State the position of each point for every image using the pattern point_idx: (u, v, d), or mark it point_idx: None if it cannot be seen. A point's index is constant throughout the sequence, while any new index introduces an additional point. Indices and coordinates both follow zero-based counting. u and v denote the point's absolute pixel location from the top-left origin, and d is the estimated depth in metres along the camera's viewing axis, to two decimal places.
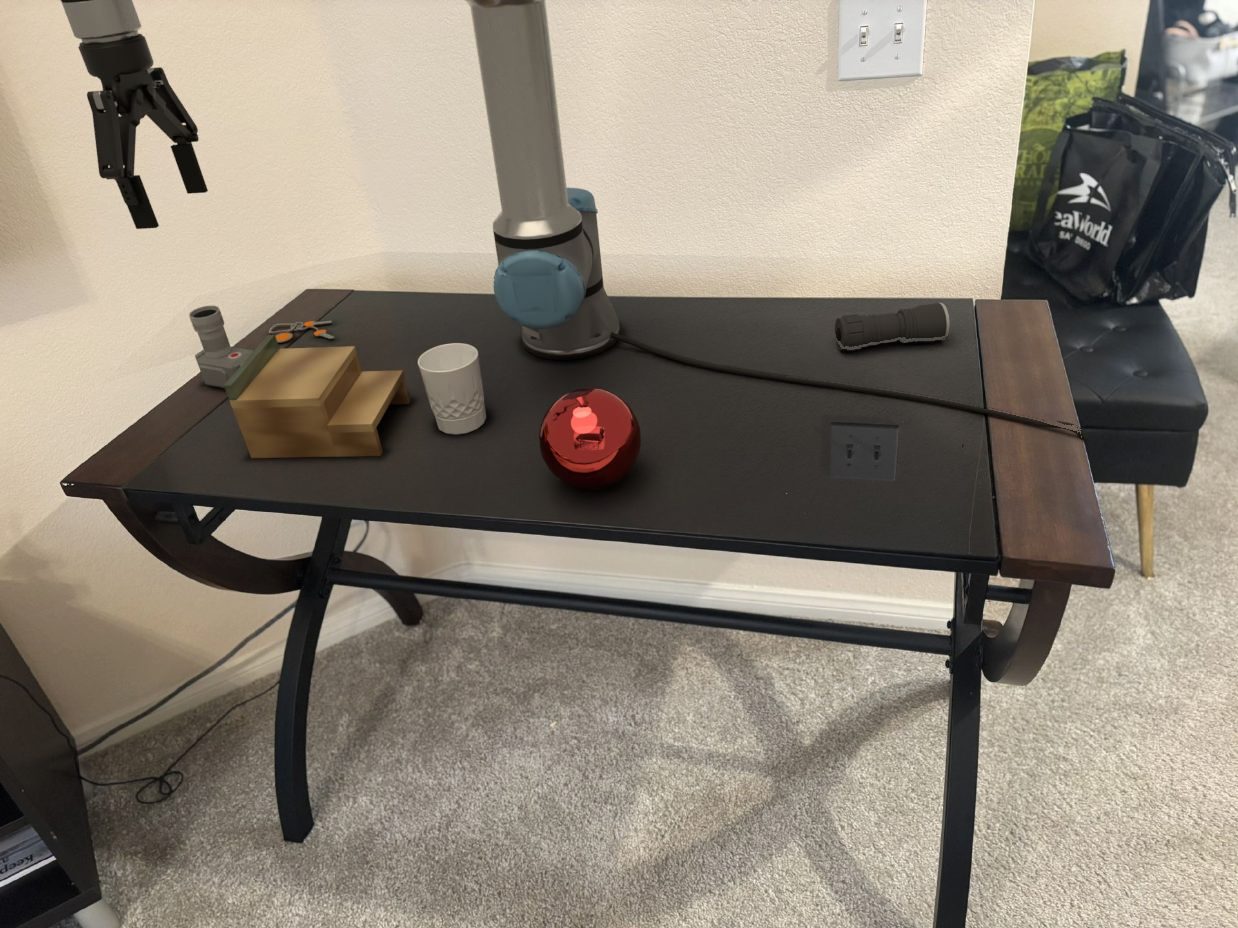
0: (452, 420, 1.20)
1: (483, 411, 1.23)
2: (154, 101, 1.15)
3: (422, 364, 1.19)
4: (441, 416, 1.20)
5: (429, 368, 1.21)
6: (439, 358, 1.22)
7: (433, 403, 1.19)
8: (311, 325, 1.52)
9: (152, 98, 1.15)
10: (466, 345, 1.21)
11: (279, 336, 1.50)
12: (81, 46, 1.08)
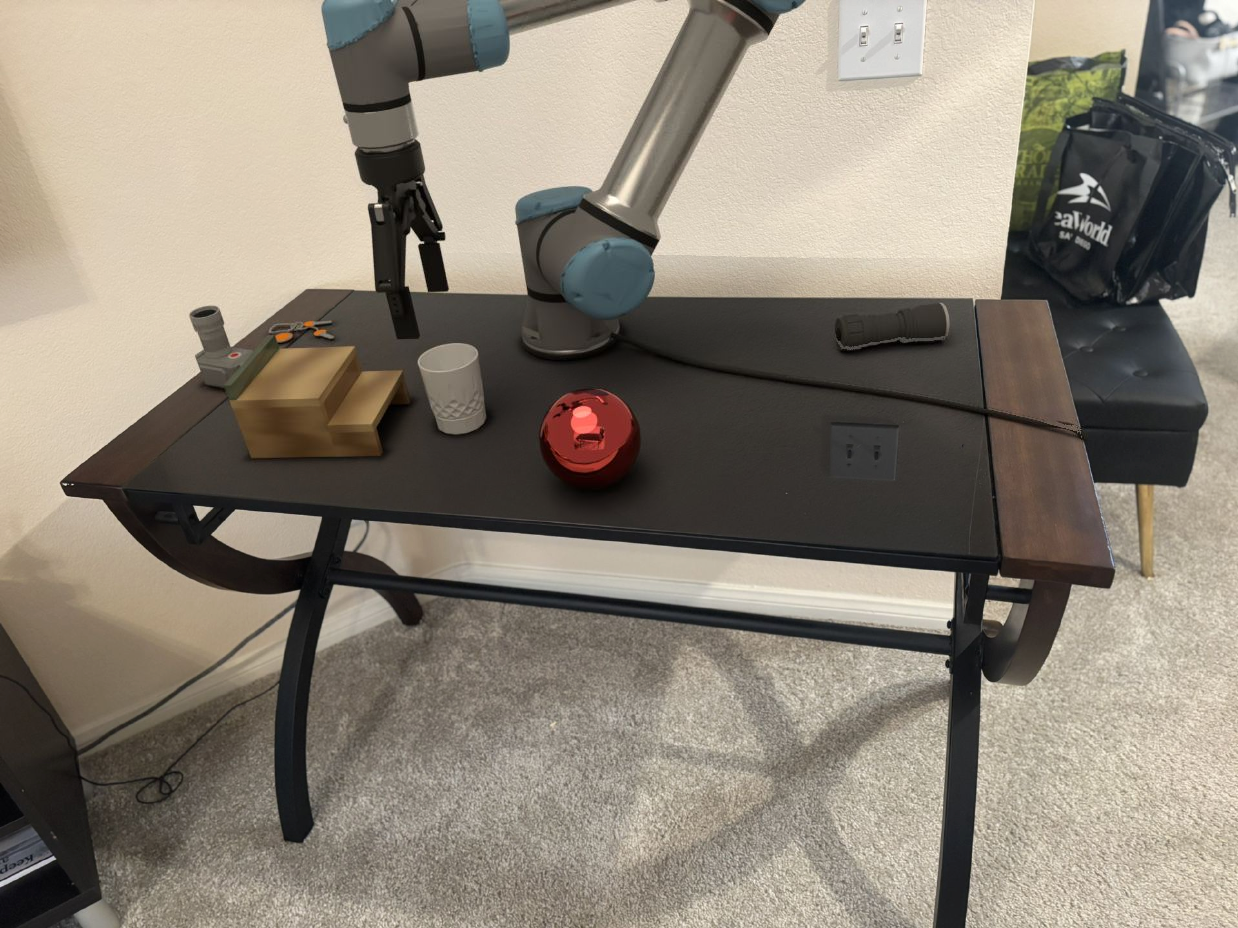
0: (452, 420, 1.20)
1: (483, 411, 1.23)
2: (418, 205, 1.09)
3: (422, 364, 1.19)
4: (441, 416, 1.20)
5: (429, 368, 1.21)
6: (439, 358, 1.22)
7: (433, 403, 1.19)
8: (311, 325, 1.52)
9: (417, 203, 1.09)
10: (466, 345, 1.21)
11: (279, 336, 1.50)
12: (360, 155, 1.02)
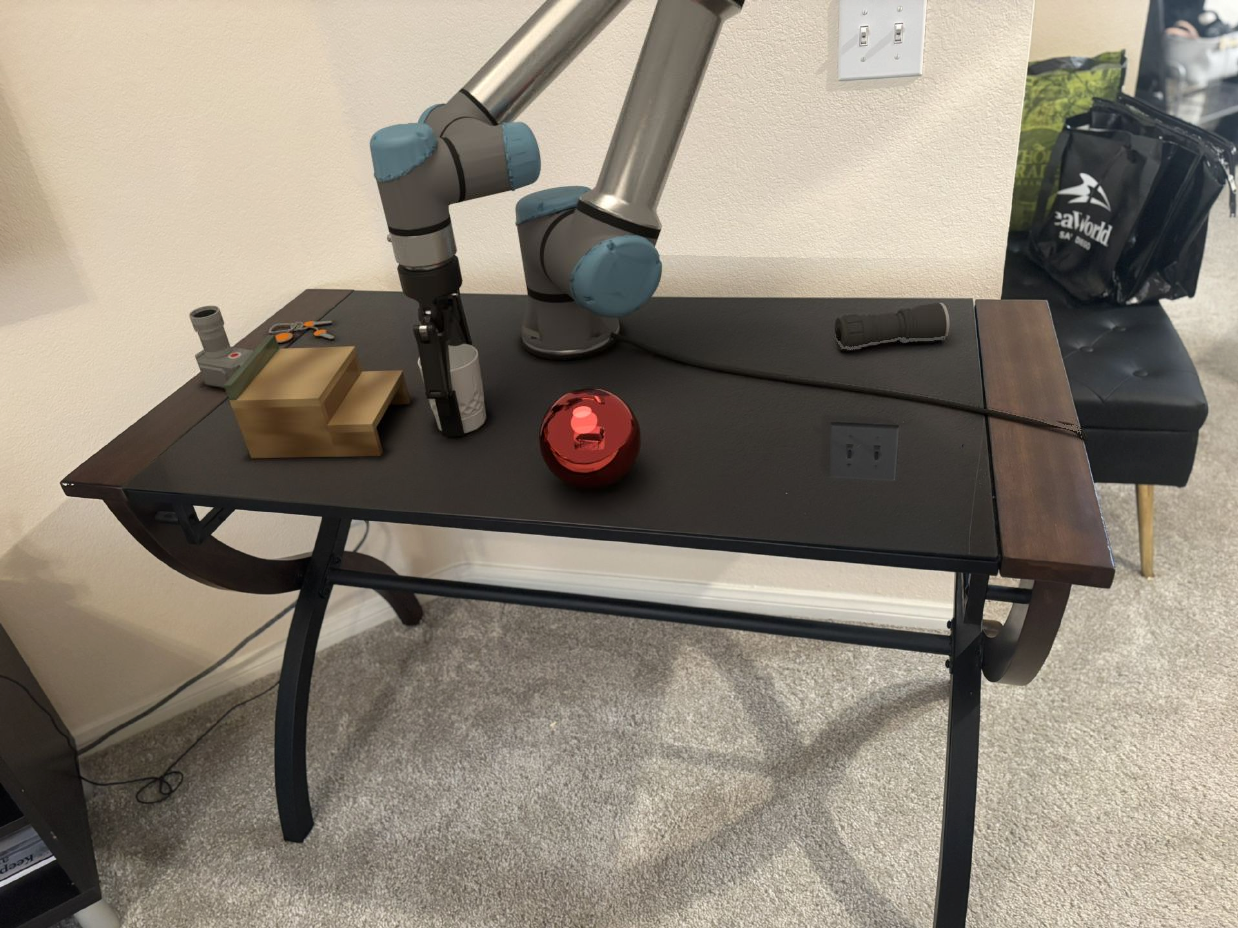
0: None
1: (483, 411, 1.23)
2: (454, 314, 1.16)
3: None
4: None
5: None
6: None
7: (433, 403, 1.19)
8: (311, 325, 1.52)
9: None
10: (466, 345, 1.21)
11: (279, 336, 1.50)
12: (403, 272, 1.09)
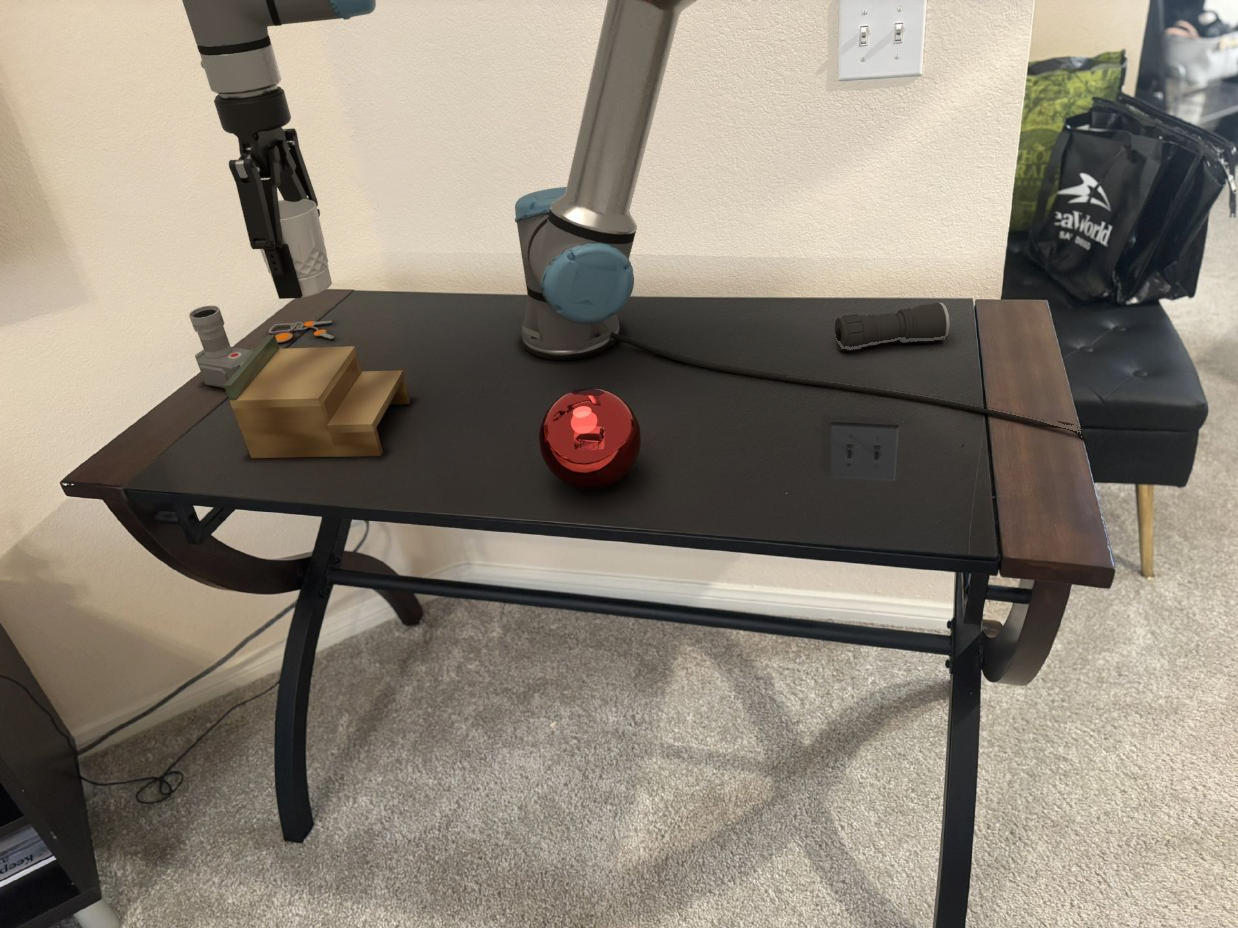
0: None
1: (326, 275, 1.12)
2: (286, 159, 1.06)
3: None
4: None
5: None
6: None
7: (267, 261, 1.09)
8: (311, 325, 1.52)
9: None
10: (306, 200, 1.10)
11: (279, 336, 1.50)
12: (218, 101, 0.98)
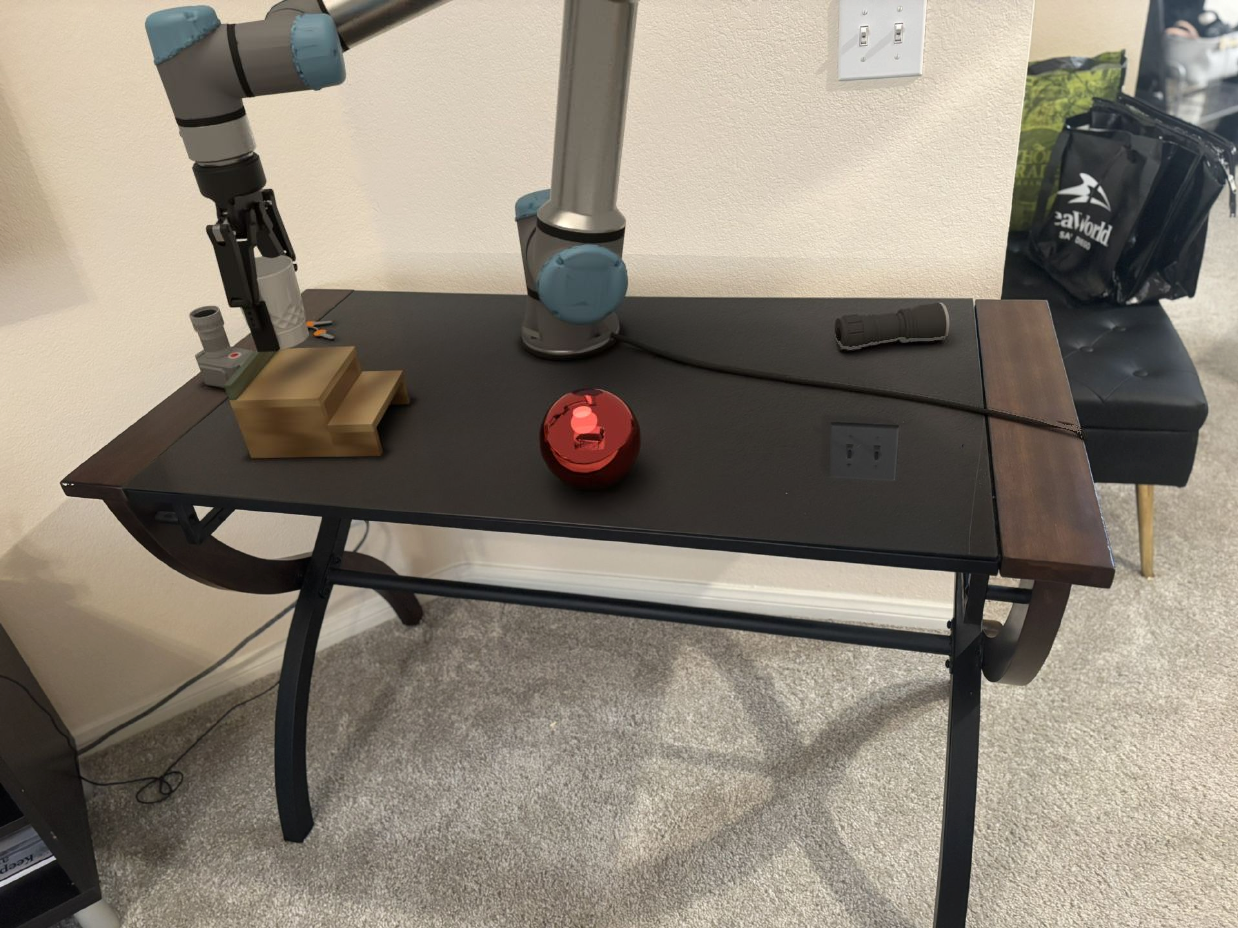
0: None
1: (303, 327, 1.16)
2: (262, 220, 1.10)
3: None
4: None
5: None
6: (256, 271, 1.16)
7: None
8: (311, 325, 1.52)
9: (262, 215, 1.10)
10: (283, 256, 1.15)
11: None
12: (196, 169, 1.03)
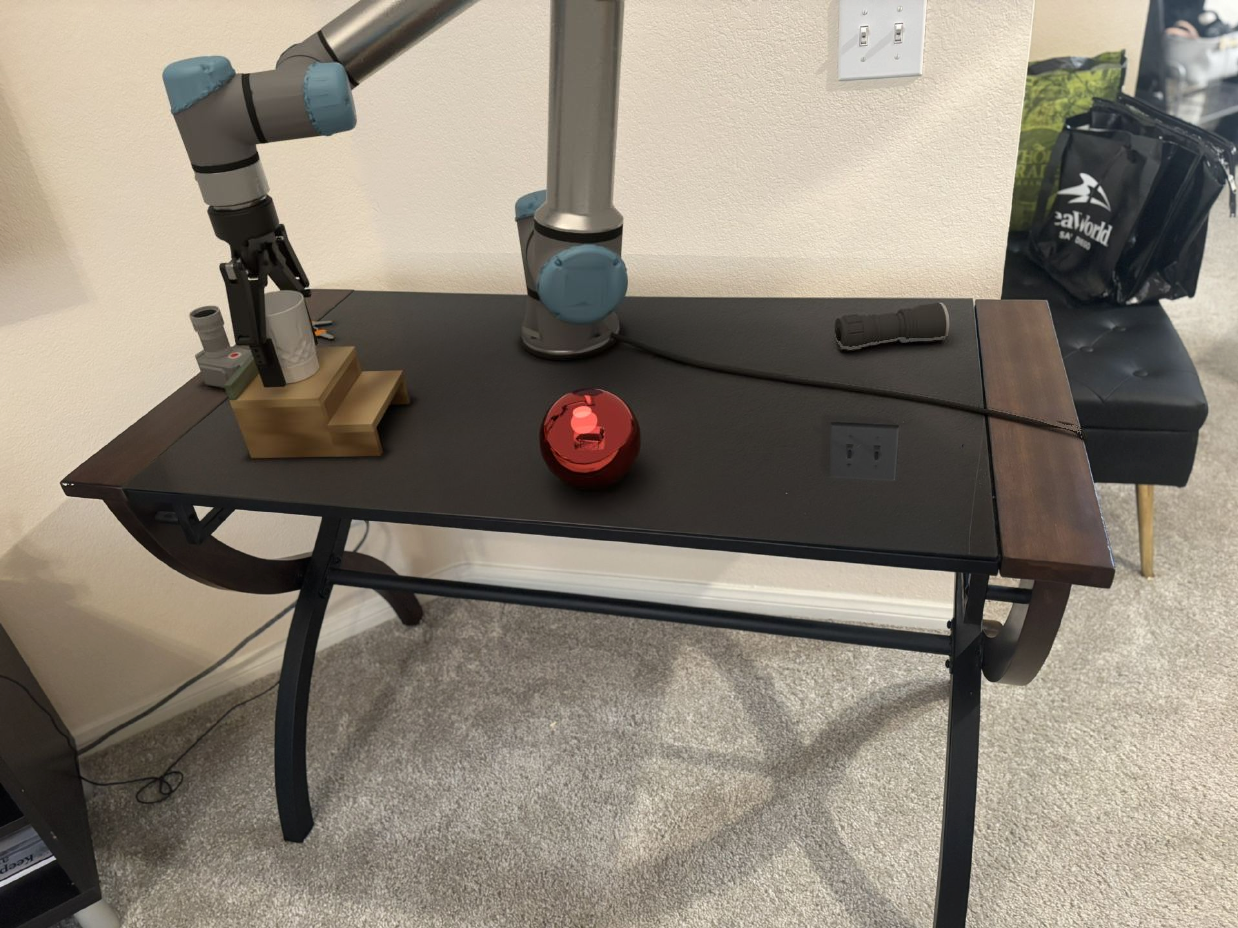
0: None
1: (314, 360, 1.19)
2: (276, 258, 1.13)
3: None
4: None
5: None
6: (267, 306, 1.18)
7: None
8: None
9: None
10: (294, 292, 1.17)
11: None
12: (211, 212, 1.06)
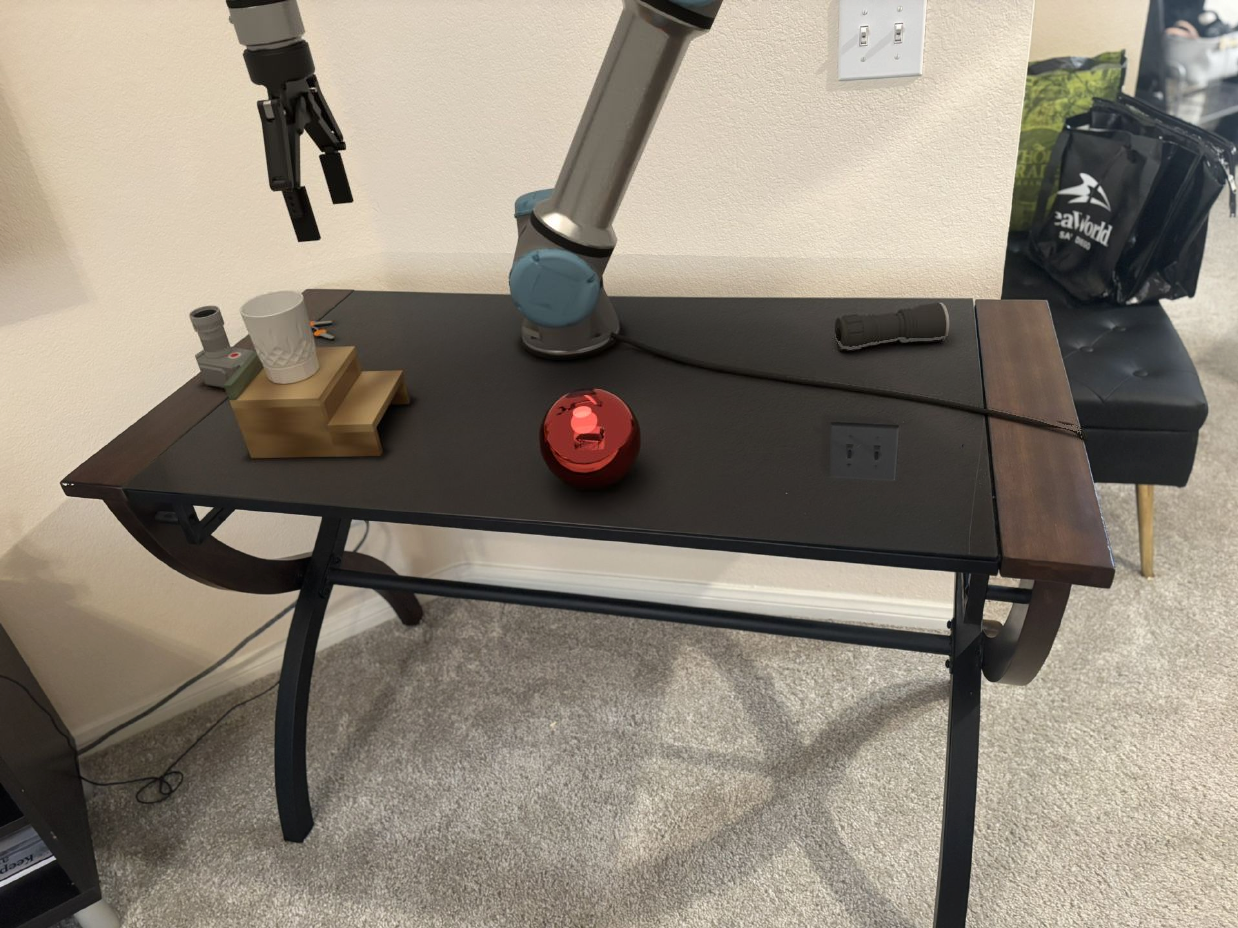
0: (279, 368, 1.17)
1: (314, 360, 1.19)
2: (312, 109, 1.11)
3: (246, 311, 1.16)
4: (267, 365, 1.17)
5: (256, 316, 1.18)
6: (267, 306, 1.18)
7: (258, 351, 1.16)
8: (311, 325, 1.52)
9: (311, 106, 1.10)
10: (294, 292, 1.17)
11: None
12: (247, 54, 1.03)
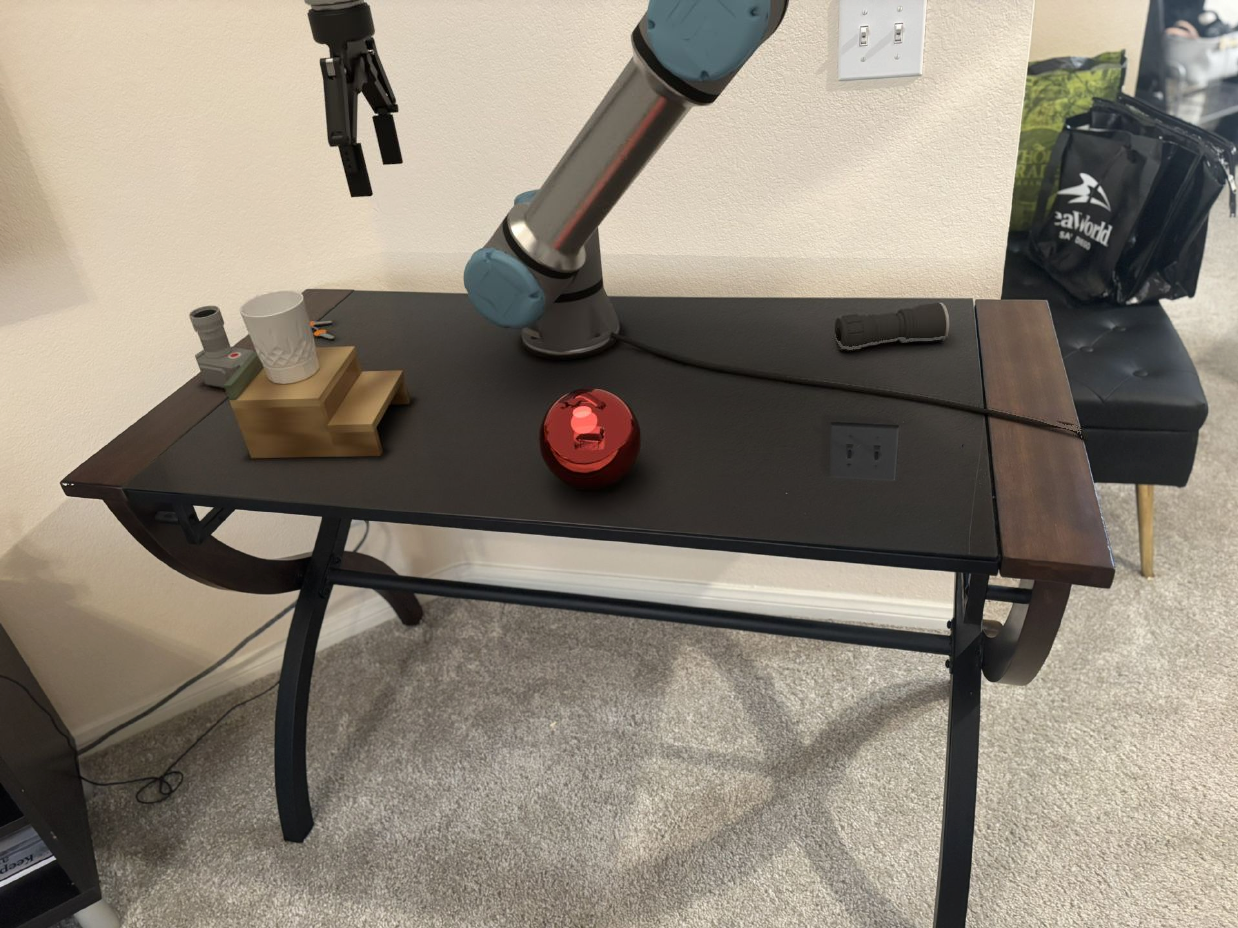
0: (279, 368, 1.17)
1: (314, 360, 1.19)
2: (369, 70, 1.16)
3: (246, 311, 1.16)
4: (267, 365, 1.17)
5: (256, 316, 1.18)
6: (267, 306, 1.18)
7: (258, 351, 1.16)
8: (311, 325, 1.52)
9: (369, 67, 1.15)
10: (294, 292, 1.17)
11: None
12: (312, 13, 1.08)
